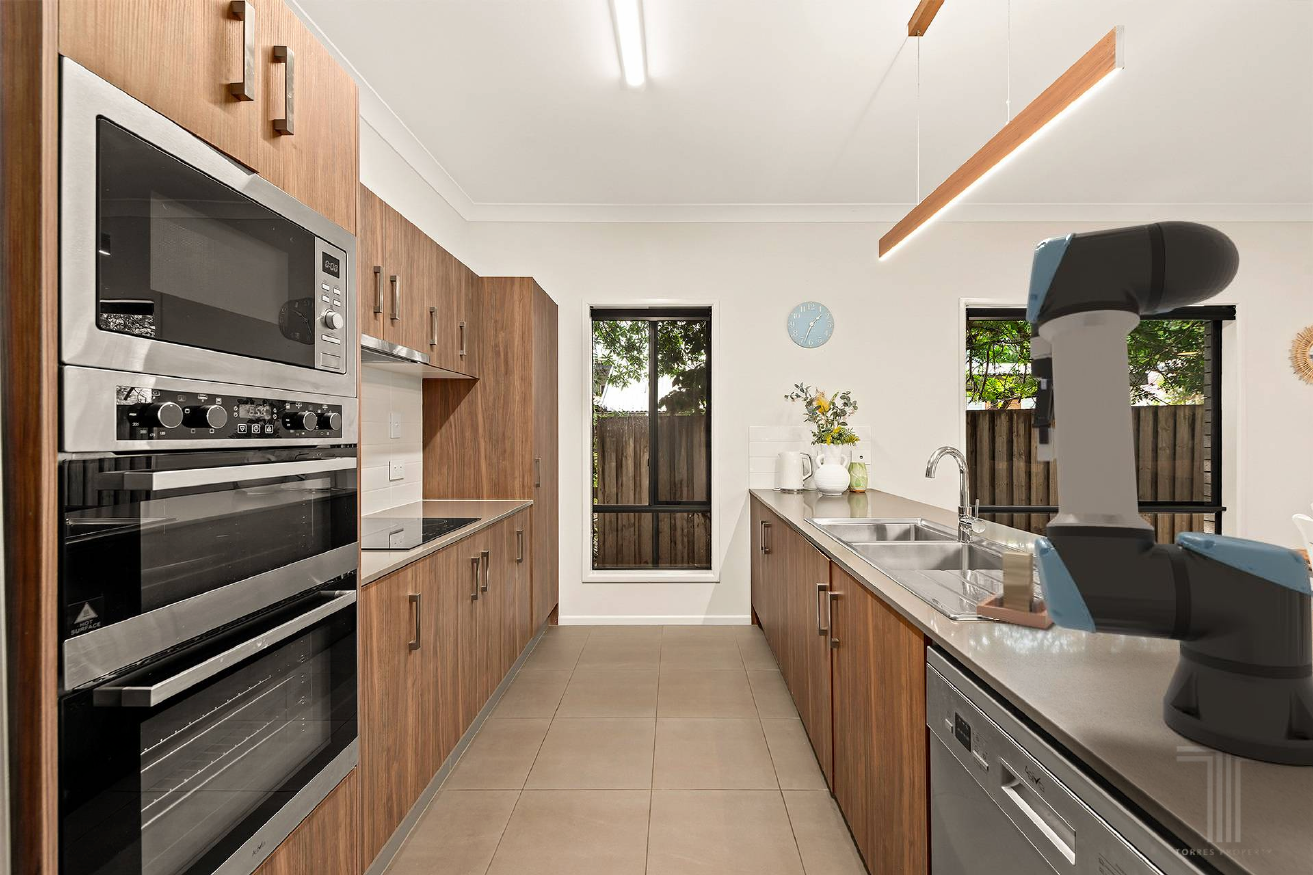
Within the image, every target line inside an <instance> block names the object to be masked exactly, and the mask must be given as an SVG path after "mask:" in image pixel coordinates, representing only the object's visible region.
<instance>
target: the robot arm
mask: <svg viewBox="0 0 1313 875" xmlns="http://www.w3.org/2000/svg"><path fill="white" fill-rule="evenodd" d="M1239 265H1240V254H1239V250H1238V248H1237V246H1236V244H1235V243H1234V242H1233V240H1232V239H1231V238H1230V237H1229V236H1228V235H1226V234H1225V233H1224V232H1222V231H1220V230H1219V229H1217V228H1214V227H1212V226H1209V225H1207V224H1202V223H1198V222H1193V221H1183V220H1166V221H1158V222H1153V223H1147V224H1141V225H1140V224H1139V225H1133V226H1127V227H1125V226H1124V227H1118V228H1117V227H1116V228H1111V229H1103V230H1094V231H1087V232H1080V233H1076V232H1071V233H1070V234H1068V235H1062V236H1057V237H1056V236H1055V237H1050V238H1046V239H1044V240H1042V241H1041V242H1040V243H1038V245H1037V246H1036V247H1035V250H1034V253H1033V260H1032V265H1031V272H1030V279H1029V286H1028V296H1027V302H1026V314H1025V320H1026V322H1027V323H1029V325H1030V326H1029V328H1030V335H1029V336H1030V341H1029V342H1030V343H1029V344H1030V346H1029V347H1030V348H1029V349H1030V352H1029V353H1030V358H1032V360H1031V362H1030V376H1031V377H1032V378H1033V379H1037V380H1036V396H1035V403H1034V404H1035V405H1034V413H1033V420H1032V423H1031V428H1032V429H1036V460H1037V462H1054V460H1056V474H1057V476H1056V477H1057V479H1056V480H1057V495H1058V496H1057V497H1058V498H1057V499H1058V500H1057V501H1058V513H1057V514H1056V516H1055V517H1054V518H1052V519H1051V520H1050V521H1049V522H1047V523H1046V536H1041V537H1039V538H1037V539H1035V540H1034V543H1033V544H1034V552H1035V561H1036V562H1035V563H1036V569H1037V575H1038V581H1039V585H1040V590H1041V594H1042V599H1043V601H1044V603H1045V607H1046V610H1047V613H1048V615H1049V617H1050V619H1051V620H1052V621H1053V624H1054V625H1056V626H1058V627H1060V628H1062V629H1067V630H1068V629H1069V630H1074V631H1082V632H1088V633H1091V634H1092V635H1095V634H1097V633H1098V634H1109V635H1119V636H1129V637H1140V638H1141V637H1143V638H1151V639H1161V640H1162V639H1163V640H1172V641H1179V660H1178V663H1177V665H1176V667H1175V670H1174V673H1173V674H1172V678H1171V680H1170V682H1169V685H1168V687H1167V689H1166V692H1165V693H1164V694H1165V695H1164V696H1163V701H1162V705H1163V706H1162V707H1163V710H1162V711H1163V720H1164V722H1165V723H1166V724H1167V725H1168V726H1169V727H1170V728H1172V730H1174V731H1175V732H1177V733H1178V734H1180V735H1182V736H1184V737H1186V738H1189V739H1190V740H1193V741H1195V742H1198V743H1199V744H1202V745H1205V746H1207V747H1210V748H1213V749H1216V750H1219V751H1223V752H1226V753H1229V754H1233V755H1237V756H1240V757H1245V758H1249V759H1253V760H1259V761H1264V762H1270V763H1278V764H1284V765H1295V766H1297V765H1298V766H1299V765H1300V766H1313V631H1312V630H1313V626H1312V625H1313V623H1312V621H1313V620H1312V618H1313V617H1312V596H1313V589H1312V585H1311V577H1310V569H1309V568H1310V567H1309V563H1308V561H1307V559H1306V558H1305V557H1304V556H1303V555H1302V554H1300V552H1298V551H1295V550H1293V549H1291V548H1287V547H1285V546H1281V545H1276V544H1272V543H1268V542H1265V541H1264V542H1263V541H1258V540H1253V539H1247V538H1243V537H1242V538H1241V537H1234V536H1228V535H1222V534H1214V533H1207V532H1197V531H1196V532H1193V531H1182V532H1181V531H1180V532H1179V533H1177V535H1176V537H1175V538H1174V543H1161V542H1156V534H1155V527H1154V526H1153V525H1151V524H1150V523H1149V522H1148V521H1146V520H1145V519H1144V518H1143V517H1141V515H1140V514H1139V507H1138V506H1139V504H1138V492H1137V491H1138V488H1137V487H1138V486H1137V474H1136V459H1135V443H1134V442H1135V441H1134V432H1133V431H1134V429H1133V415H1132V411H1133V410H1132V402H1131V401H1132V400H1131V399H1132V397H1131V385H1130V381H1131V380H1130V369H1129V355H1128V354H1129V353H1128V352H1129V351H1128V339H1127V337H1128V335H1129V334H1130V333H1131V332H1132V331H1133V330H1135V328H1137V327H1138V325H1140V323H1141V317H1140V316H1145V315H1147V316H1151V315H1157V314H1163V313H1169V312H1171V311H1173V310H1174V309H1178V308H1183V307H1186V306H1187V307H1188V306H1190V305H1194V304H1198V303H1202V302H1205V301H1208V300H1210V299H1212V298H1213V297H1216V296H1217V295H1219V294H1220V293H1222V292H1223V291H1224V290H1226V288H1227V287H1229V285H1230V284H1232V282H1233V281H1234V279H1235V277H1236V275H1237V273H1238V270H1239V267H1240V266H1239ZM1052 422H1053V423H1054V428H1051V427H1052Z"/></svg>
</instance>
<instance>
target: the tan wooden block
mask: <svg viewBox="0 0 1313 875" xmlns="http://www.w3.org/2000/svg"><path fill="white" fill-rule="evenodd" d="M1002 584H1003V585H1002V589H1003V591H1002V593H1003V597H1004V608H1006V609H1013V610H1019V611H1026V612H1032V603H1033V602H1034V600H1035V594H1034V593H1035V592H1034V585H1035V583H1034V554H1033V552H1028V551H1016V550H1006V551H1004V552H1002Z"/></svg>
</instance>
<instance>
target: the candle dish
mask: <svg viewBox="0 0 1313 875" xmlns="http://www.w3.org/2000/svg"><path fill="white" fill-rule="evenodd" d="M977 615H982V616H985V617H991V618H993V619H999V620H1002V621H1006V622H1005V623H1008V622H1009V623H1008V624H1014V625H1015V624H1016V625H1021V626H1027V627H1033V628H1039V629H1045V630H1046V629H1047V628H1049V627H1050V626H1051V625H1052V624H1054V622H1053V621H1052V620H1051V619H1050V617H1049V615H1048V613H1047V610H1046V607H1045V603H1044V599H1043V598H1040V597H1038V598H1037V599H1034V602H1033V603H1032V612H1026V611H1019V610H1013V609H1006V608H1004V597H1003V592H1002V593H1000V594H997V593H995V594H994V595H991V596H990V597H988V598H986V599H985V600H983V601H981V602H980V603H978V604H976V616H977ZM1002 621H1001V622H1002Z"/></svg>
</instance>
